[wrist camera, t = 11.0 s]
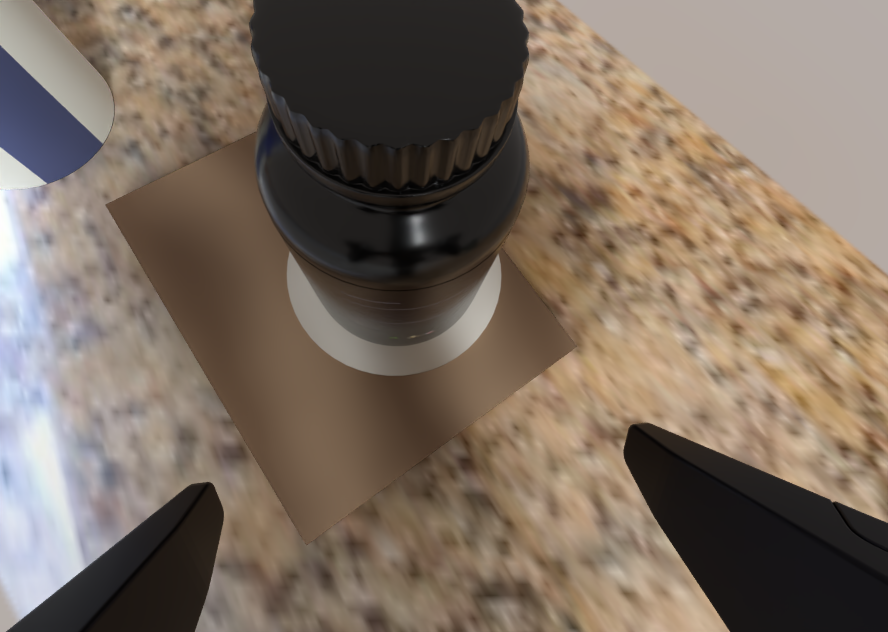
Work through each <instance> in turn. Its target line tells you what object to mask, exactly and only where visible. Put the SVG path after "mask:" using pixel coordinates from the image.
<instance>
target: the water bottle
mask: <svg viewBox="0 0 888 632" xmlns="http://www.w3.org/2000/svg"><path fill="white" fill-rule="evenodd" d="M113 118H114V101H113V97H112V93H111V91H110V88H109V86H108V84H107V83H106V81H105V80H104V78H103V77H102V76H101V75H100V73H99V72H98V71H97V70H96V69H95V68H94V67H93V66H92V65H91V64H90V63H89V62H88V60H87V59H86V58H85V57H84V56H83V55H82V54H81V53H80V52H79V51H78V50H77V49H76V47H75V46H74V45H73V44H72V43H71V42H70V41H69V40H68V39H67V38H66V36H65V35H64V34H63V33H62V32H61V31H60V30H59V29H58V28H57V27H56V26H55V24H54V23H53V22H52V21H51V20H50V19H49V18H48V17H47V15H46V14H45V13H44V12H43V11H42V10H41V9H40V8H39V7H38V5H37V4H36V3H35V2H34V1H33V0H0V189H1V190H18V189H27V188H33V187H38V186H42V185H45V184H48V183H51V182H54V181H57V180H59V179H61V178H63V177H65V176H67V175H69V174H71V173H72V172H74V171H76V170H77V169H79V168H80V167H81V166H83V165H84V164H85V163H86V162H88V161H89V160H90V159H91V158H92V157H93V156H94V155H95V154H96V153H97V151H98V150H99V149H100V148H101V146H102V145H103V143H104V142H105V140H106V138H107V136H108V134H109V132H110V130H111V127H112V123H113Z"/></svg>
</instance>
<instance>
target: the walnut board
mask: <svg viewBox="0 0 888 632" xmlns="http://www.w3.org/2000/svg"><path fill="white" fill-rule="evenodd" d="M256 133H257V132H255V133H252V134H250V135H248V136H246V137H244V138H242V139H240V140H238V141H236V142H234V143H232V144H230V145H228V146H226V147H224V148H222V149H219V150H217V151H215V152H213V153H211V154H209V155H207V156H205V157H203V158H201V159H199V160H197V161H195V162H193V163H191V164H188V165H186V166H184V167H182V168H180V169H178V170H176V171H174V172H172V173H170V174H168V175H166V176H164V177H162V178H160V179H158V180H155V181H153V182H151V183H149V184H147V185H145V186H143V187H141V188H139V189H137V190H135V191H133V192H131V193H129V194H127V195H124V196H122V197H120V198H118V199H116V200H114V201H112V202H110V203H108V204H106V207H107V208H108V210H109V212H110V214H111V215H112V217H113V219H114V220H115V222H116V224H117V225H118V227H119V229H120V231H121V232H122V234H123V236H124V237H125V239H126V241H127V242H128V244H129V246H130V247H131V249H132V251H133V253H134V254H135V256H136V258H137V259H138V261H139V263H140V264H141V266H142V268H143V269H144V271H145V273H146V275H147V276H148V278H149V280H150V281H151V283H152V285H153V286H154V288H155V290H156V292H157V293H158V295H159V297H160V298H161V300H162V302H163V303H164V305H165V307H166V308H167V310H168V312H169V314H170V315H171V317H172V319H173V320H174V322H175V324H176V325H177V327H178V329H179V331H180V332H181V334H182V336H183V337H184V339H185V341H186V342H187V344H188V346H189V347H190V349H191V351H192V353H193V354H194V356H195V358H196V359H197V361H198V363H199V364H200V366H201V368H202V369H203V371H204V373H205V375H206V376H207V378H208V380H209V381H210V383H211V385H212V386H213V388H214V390H215V392H216V393H217V395H218V397H219V398H220V400H221V402H222V403H223V405H224V407H225V408H226V410H227V412H228V414H229V415H230V417H231V419H232V420H233V422H234V424H235V425H236V427H237V429H238V431H239V432H240V434H241V436H242V437H243V439H244V441H245V442H246V444H247V446H248V447H249V449H250V451H251V453H252V454H253V456H254V458H255V459H256V461H257V463H258V464H259V466H260V468H261V469H262V471H263V473H264V475H265V476H266V478H267V480H268V481H269V483H270V485H271V486H272V488H273V490H274V492H275V493H276V495H277V497H278V498H279V500H280V502H281V503H282V505H283V507H284V508H285V510H286V512H287V514H288V515H289V517H290V519H291V520H292V522H293V524H294V525H295V527H296V529H297V531H298V532H299V534H300V536H301V537H302V539H303V541H304V542H305V544H306V545H308V544H309V543H310V542H312V541H313V540H314V539H316V538H317V537H318V536H320V535H321V534H322V533H324V532H325V531H327V530H328V529H329V528H331V527H332V526H333V525H335V524H336V523H337V522H339V521H340V520H342V519H343V518H344V517H346V516H347V515H348V514H350V513H351V512H352V511H354V510H355V509H357V508H358V507H359V506H361V505H362V504H363V503H365V502H366V501H367V500H369V499H370V498H372V497H373V496H374V495H376V494H377V493H378V492H380V491H381V490H382V489H384V488H385V487H386V486H388V485H389V484H391V483H392V482H393V481H395V480H396V479H397V478H399V477H400V476H401V475H403V474H404V473H406V472H407V471H408V470H410V469H411V468H412V467H414V466H415V465H416V464H418V463H419V462H421V461H422V460H423V459H425V458H426V457H427V456H429V455H430V454H431V453H433V452H434V451H436V450H437V449H438V448H440V447H441V446H442V445H444V444H445V443H446V442H448V441H449V440H450V439H452V438H453V437H455V436H456V435H457V434H459V433H460V432H461V431H463V430H464V429H465V428H467V427H468V426H470V425H471V424H472V423H474V422H475V421H476V420H478V419H479V418H480V417H482V416H483V415H485V414H486V413H487V412H489V411H490V410H491V409H493V408H494V407H495V406H497V405H498V404H500V403H501V402H502V401H504V400H505V399H506V398H508V397H509V396H510V395H512V394H513V393H514V392H516V391H517V390H519V389H520V388H521V387H523V386H524V385H525V384H527V383H528V382H529V381H531V380H532V379H534V378H535V377H536V376H538V375H539V374H540V373H542V372H543V371H544V370H546V369H547V368H549V367H550V366H551V365H553V364H554V363H555V362H557V361H558V360H559V359H561V358H562V357H564V356H565V355H566V354H568V353H569V352H570V351H572V350H573V349H574V348H576V347H577V346H576V344H575V343H574V342H573V340H572V339H571V338H570V337H569V335H568V334H567V333H566V331H565V330H564V329H563V327H562V326H561V325H560V323H559V322H558V321H557V319H556V318H555V317H554V316H553V314H552V313H551V312H550V310H549V309H548V308H547V306H546V305H545V304H544V302H543V301H542V300H541V298H540V297H539V296H538V295H537V293H536V292H535V291H534V289H533V288H532V287H531V285H530V284H529V283H528V281H527V280H526V279H525V277H524V276H523V275H522V274H521V272H520V271H519V270H518V268H517V267H516V266H515V264H514V263H513V262H512V260H511V259H510V258H509V256H508V255H507V254H506V253H505V251H504V250H503V249H502V248H501V250H500V251H499V253H498V255H497V257H496V259H495V261H494V262H493V264H492V266H491V268H490V270H489V272H488V274H487V275H486V277H485V279H484V281H483V283H482V285H481V286H480V288H479V290H478V292H477V294H476V296H475V297H474V299H473V301H472V303H471V304H470V306H469V307H468V309H467V310H466V312H465V313H464V314H463V316H462V317H461V318H460V319H459V320H458V321H457V322H456V323H455V324H454V325H453V326H452V327H450V328H449V329H448V330H447V331H445V332H444V333H442V334H441V335H439V336H437V337H435V338H433V339H431V340H428V341H425V342H422V343H419V344H414V345H409V346H386V345H380V344H375V343H372V342H369V341H366V340H363V339H361V338H359V337H357V336H355V335H353V334H352V333H350V332H349V331H347V330H346V329H344V328H343V327H342V326H341V325H340V324H338V323H337V322H336V321H335V320H334V319H333V318H332V316H331V315H330V314H329V313H328V311H327V310H326V309H325V307H324V306H323V304H322V303H321V301H320V300H319V298H318V297H317V295H316V293H315V292H314V290H313V288H312V287H311V285H310V283H309V282H308V280H307V278H306V277H305V275H304V274H303V272H302V270H301V269H300V267H299V265H298V264H297V262H296V260H295V259H294V257H293V255H292V254H291V252H290V251H289V249H288V247H287V246H286V244H285V242H284V241H283V239H282V237H281V236H280V234H279V232H278V231H277V229H276V228H275V226H274V224H273V222H272V220H271V218H270V216H269V214H268V212H267V210H266V208H265V206H264V203H263V201H262V198H261V195H260V193H259V190H258V185H257V181H256V176H255V167H254V146H255V137H256Z"/></svg>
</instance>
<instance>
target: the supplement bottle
mask: <svg viewBox="0 0 888 632" xmlns="http://www.w3.org/2000/svg"><path fill="white" fill-rule="evenodd" d="M253 5H254V14H253V16H252V17H251V20H250V22H249V28H250V33H251V36H252V43H251V52H252V56H253V59H254V62H255V64H256V67H257V69H258V72H259V77H260V80H261V83H262V86H263V88H264V91H265V93H266V97H267V103H266V105H265V108H264V110H263V112H262V115H261V118H260V121H259V124H258V128H257V133H256V137H255V146H254V167H255V176H256V181H257V185H258V190H259V193H260V195H261V198H262V201H263V203H264V206H265V208H266V210H267V212H268V214H269V216H270V218H271V220H272V222H273V224H274V226H275V228H276V229H277V231H278V232H279V234H280V236H281V237H282V239H283V241H284V242H285V244H286V246H287V247H288V249H289V251H290V252H291V254H292V255H293V257H294V259H295V260H296V262H297V264H298V265H299V267H300V269H301V270H302V272H303V274H304V275H305V277H306V278H307V280H308V282H309V283H310V285H311V287H312V288H313V290H314V292H315V293H316V295H317V297H318V298H319V300H320V301H321V303H322V304H323V306H324V307H325V309H326V310H327V311H328V313H329V314H330V315H331V316H332V318H333V319H334V320H335V321H336V322H337V323H338V324H340V325H341V326H342V327H343V328H344V329H346V330H347V331H349V332H350V333H352V334H353V335H355V336H357V337H359V338H361V339H363V340H366V341H369V342H372V343H375V344H380V345H386V346H409V345H414V344H419V343H422V342H425V341H428V340H431V339H433V338H435V337H437V336H439V335H441V334H442V333H444V332H445V331H447V330H448V329H449V328H450V327H452V326H453V325H454V324H455V323H456V322H457V321H458V320H459V319H460V318H461V317H462V316H463V314H464V313H465V312H466V310H467V309H468V307H469V306H470V304H471V303H472V301H473V299H474V297H475V296H476V294H477V292H478V290H479V288H480V286H481V285H482V283H483V281H484V279H485V277H486V275H487V274H488V272H489V270H490V268H491V266H492V264H493V262H494V261H495V259H496V257H497V255H498V253H499V251H500V250H501V248H502V246H503V244H504V242H505V240H506V238H507V237H508V235H509V232H510V230H511V228H512V227H513V225H514V223H515V221H516V219H517V217H518V214H519V212H520V209H521V207H522V204H523V202H524V198H525V195H526V191H527V186H528V180H529V151H528V145H527V139H526V135H525V132H524V128H523V125H522V122H521V120H520V117H519V115H518V113H517V107H518V97H519V94H520V91H521V88H522V85H523V78H524V74H525V71H526V68H527V65H528V61H529V52H528V48H527V43H528V38H529V32H528V30H527V28H526V26H525V24H524V23H523V10H522V9H521V7H520V6H519V5H518V4H517V3H516V1H515V0H253Z"/></svg>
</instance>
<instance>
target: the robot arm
mask: <svg viewBox="0 0 888 632" xmlns="http://www.w3.org/2000/svg"><path fill="white" fill-rule="evenodd" d="M624 459H625V462H626V464H627V466H628V468H629V470H630V472H631V474H632V476H633V478H634V480H635V482H636V483H637V485H638V487H639V489H640V491H641V493H642V495H643V497H644V499H645V501H646V503H647V505H648V506H649V508H650V510H651V512H652V514H653V515H654V517H655V519H656V520H657V522H658V524H659V525H660V527H661V528H662V530H663V531H664V533H665V534H666V536H667V537H668V539H669V540H670V542H671V543H672V545H673V546H674V548H675V549H676V551H677V552H678V554H679V555H680V557H681V558H682V560H683V561H684V563H685V564H686V566H687V567H688V569H689V570H690V572H691V573H692V575H693V577H694V578H695V580H696V581H697V583H698V584H699V586H700V587H701V589H702V590H703V592H704V593H705V595H706V596H707V598H708V599H709V601H710V602H711V604H712V605H713V607H714V608H715V610H716V611H717V613H718V614H719V616H720V617H721V619H722V620H723V622H724V623H725V625H726V626H727V628H728V629H729V631H730V632H888V523H886V522H884V521H882V520H879V519H877V518H874V517H872V516H869V515H867V514H864V513H862V512H860V511H857V510H855V509H852V508H850V507H848V506H845V505H843V504H841V503H838V502H833V503H832V501H831V500H830V499H827V498H825V497H823V496H820V495H818V494H816V493H813V492H811V491H809V490H806V489H804V488H801V487H799V486H797V485H794V484H792V483H790V482H787V481H785V480H783V479H780V478H778V477H775V476H773V475H771V474H768V473H766V472H764V471H761V470H759V469H757V468H754V467H752V466H749V465H747V464H745V463H742V462H740V461H738V460H735V459H733V458H731V457H728V456H726V455H724V454H721V453H719V452H716V451H714V450H712V449H709V448H707V447H705V446H702V445H700V444H698V443H695V442H693V441H690V440H688V439H686V438H683V437H681V436H679V435H676V434H674V433H672V432H669V431H667V430H665V429H662V428H660V427H657V426H655V425H653V424H650V423H638V424H633V425H631V426H630V427H629V429H628V433H627V437H626V442H625V446H624ZM223 520H224V511H223V507H222V504H221V502H220V499H219V497H218V494H217V492H216V489H215V487H214V485H213V484H212V483H210V482H204V483H197V484H191V485H189V486H188V487H186V488H185V489H184V490H183V491H181V492H180V493H179V494H178V495H176V496H175V497H174V498H173V499H171V500H170V501H169V502H168V503H166V504H165V505H164V506H163V507H161V508H160V509H159V510H158V511H156V512H155V513H154V514H153V515H151V516H150V517H149V518H148V519H146V520H145V521H144V522H143V523H141V524H140V525H139V526H138V527H136V528H135V529H134V530H133V531H131V532H130V533H129V534H128V535H126V536H125V537H124V538H123V539H121V540H120V541H119V542H118V543H116V544H115V545H114V546H113V547H111V548H110V549H109V550H108V551H106V552H105V553H104V554H103V555H101V556H100V557H99V558H98V559H96V560H95V561H94V562H93V563H91V564H90V565H89V566H88V567H86V568H85V569H84V570H83V571H81V572H80V573H79V574H78V575H76V576H75V577H74V578H73V579H71V580H70V581H69V582H68V583H66V584H65V585H64V586H63V587H61V588H60V589H59V590H58V591H56V592H55V593H54V594H53V595H51V596H50V597H49V598H48V599H46V600H45V601H44V602H43V603H41V604H40V605H39V606H38V607H36V608H35V609H34V610H33V611H31V612H30V613H29V614H28V615H26V616H25V617H24V618H23V619H21V620H20V621H19V622H18V623H16V624H15V625H14V626H13V627H12V628H10V629H9V630H8V631H6V632H195V629H196V626H197V623H198V620H199V617H200V614H201V611H202V608H203V605H204V602H205V599H206V596H207V593H208V589H209V585H210V581H211V577H212V572H213V567H214V563H215V558H216V553H217V549H218V544H219V540H220V535H221V530H222V526H223Z"/></svg>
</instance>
